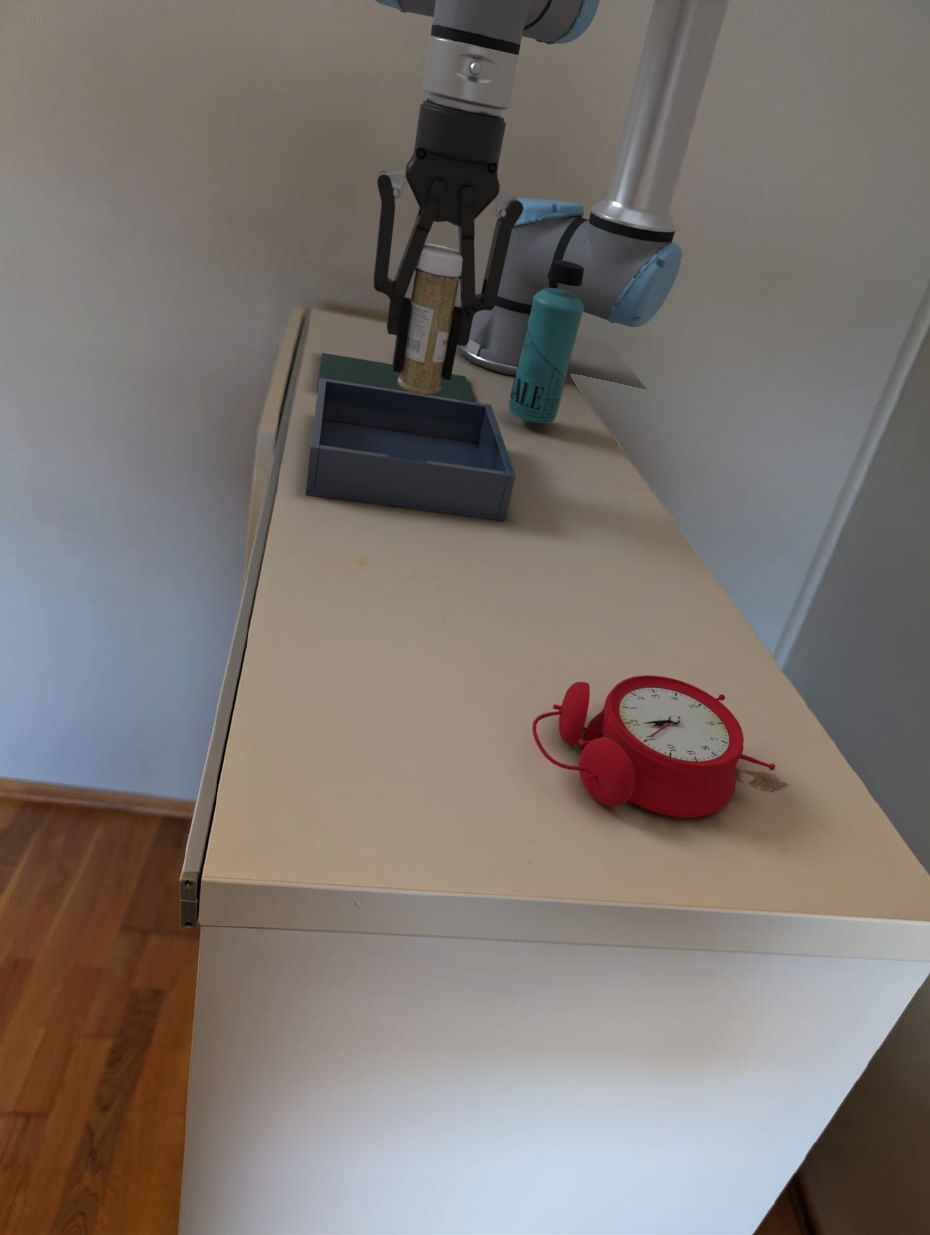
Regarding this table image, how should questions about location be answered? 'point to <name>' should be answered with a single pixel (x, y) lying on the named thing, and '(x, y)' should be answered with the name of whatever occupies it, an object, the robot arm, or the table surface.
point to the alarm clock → (654, 745)
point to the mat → (383, 376)
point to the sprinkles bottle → (430, 319)
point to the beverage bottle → (547, 346)
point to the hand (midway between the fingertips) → (421, 371)
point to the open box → (408, 451)
